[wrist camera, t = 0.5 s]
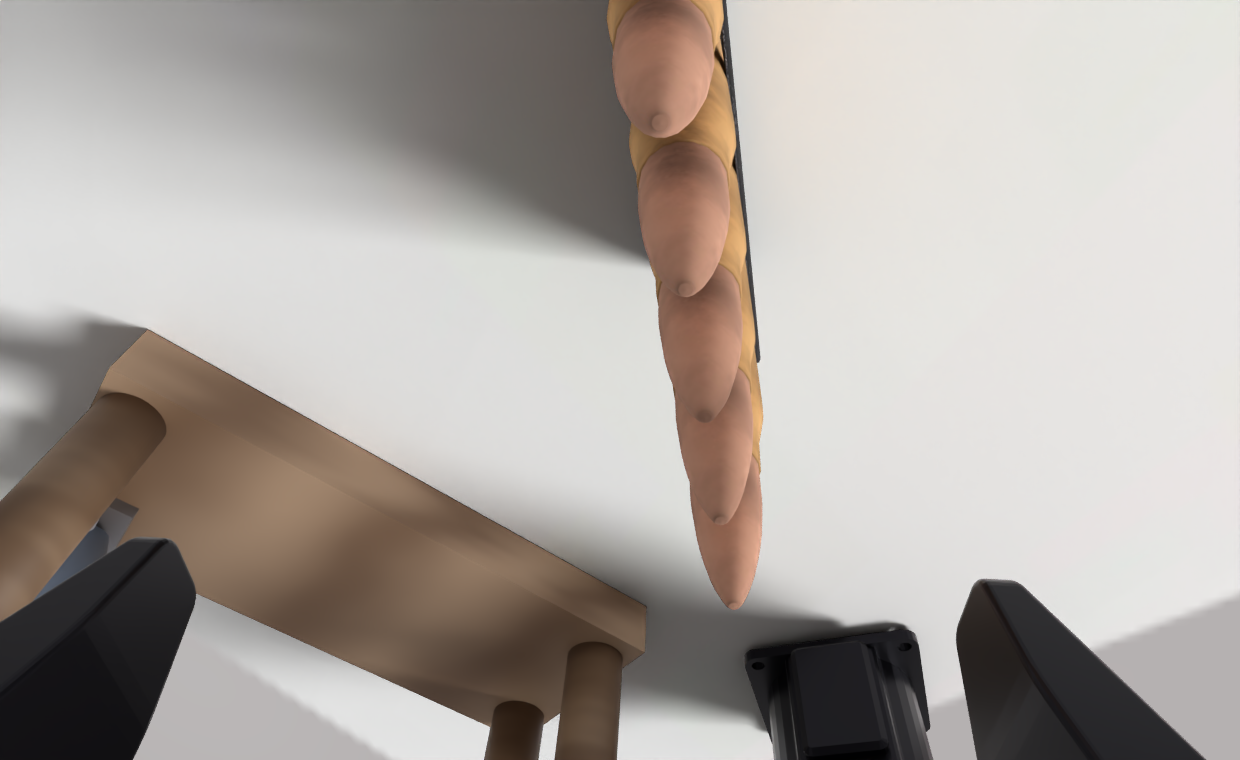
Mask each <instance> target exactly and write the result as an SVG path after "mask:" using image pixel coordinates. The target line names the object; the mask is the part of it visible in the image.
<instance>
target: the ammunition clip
mask: <svg viewBox="0 0 1240 760" xmlns="http://www.w3.org/2000/svg"><path fill="white" fill-rule="evenodd" d="M607 24H608V30H609V35H610V41H611V43H612V47H613V58H612V70H613V76H614V82H615V88H616V93H617V97H618V100H619V102H620V104H621V106H622V108H623V110H624V111H625V113H626V115H627V116H628V118H629V120H630V121H631V127H630V135H629V148H630V153H631V159H632V164H633V166H634V169H635V171H636V173H637V188H638V213H639V220H640V226H641V232H642V237H643V242H644V246H645V249H646V252H647V255H648V258H649V260H650V265H651V268H652V271H653V274H654V276H655V279H656V295H657V301H658V306H659V308H658V317H659V330H660V336H661V342H662V348H663V353H664V359H665V363H666V367H667V370H668V373H669V376H670V379H671V381H672V384H673V391H674V396H675V406H676V423H677V430H678V436H679V442H680V448H681V453H682V458H683V462H684V466H685V469H686V473H687V476H688V479H689V481H690V497H691V507H692V513H693V519H694V525H695V531H696V536H697V541H698V545H699V549H700V552H701V556H702V559H703V562H704V565H705V567H706V570H707V573H708V576H709V578H710V581H711V583H712V585H713V587H714V589H715V591H716V592H717V594H718V595H719V597H720V598H721V600H722V601H723V602H724V604H725V605H726V606H727V607H728V608H730V609H732V610H736V609H738V608H740V607H741V606H742V604H743V603H744V601H745V599H746V597H747V595H748V593H749V590H750V588H751V585H752V582H753V579H754V576H755V572H756V567H757V562H758V558H759V552H760V545H761V536H762V496H761V486H760V477H759V475H760V472H761V467H760V451H759V441H760V435H761V429H762V423H763V408H762V398H761V391H760V384H759V376H758V369H757V363H758V362H759V361H760V349H759V339H758V328H757V318H756V307H755V297H754V287H753V276H752V266H751V255H750V245H749V235H748V224H747V214H746V204H745V193H744V183H743V172H742V162H741V152H740V141H739V131H738V121H737V110H736V100H735V89H734V79H733V69H732V58H731V48H730V38H729V27H728V17H727V6H726V0H609V5H608V11H607Z"/></svg>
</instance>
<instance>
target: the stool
mask: <svg viewBox="0 0 1240 760" xmlns="http://www.w3.org/2000/svg"><path fill="white" fill-rule="evenodd" d="M98 519H99V521H98ZM97 521H98V523H97V524H96V526H97V527H99V528H101V529H103V530H104V531H105V532H106V533H107V534H108V536H109V541H108V550H107V553H109V552H110V551H112V550H113V549H115V548H117V547H118V546H120V545H121V544H123V543H124V542H126V541H128V540H130V539H132V538H135V537H159V538H168V539H171V540H172V541H174V542H175V543H176V544H177V546H178V548H179V550H180V552H181V554H182V557H183V559H184V561H185V563H186V565H187V568H188V570H189V572H190V574H191V577H192V579H193V581H194V584H195V588H196V593H197V594H199V595H201V596H203V597H205V598H208V599H210V600H212V601H214V602H216V603H219V604H221V605H223V606H225V607H227V608H230V609H232V610H234V611H236V612H238V613H241V614H243V615H245V616H247V617H249V618H252V619H254V620H256V621H258V622H260V623H263V624H265V625H267V626H269V627H271V628H274V629H276V630H278V631H280V632H282V633H285V634H287V635H289V636H291V637H293V638H296V639H298V640H300V641H302V642H304V643H307V644H309V645H311V646H313V647H315V648H318V649H320V650H322V651H324V652H326V653H329V654H331V655H333V656H335V657H337V658H340V659H342V660H344V661H346V662H348V663H351V664H353V665H355V666H357V667H359V668H362V669H364V670H366V671H368V672H370V673H373V674H375V675H377V676H379V677H381V678H384V679H386V680H388V681H390V682H392V683H395V684H397V685H399V686H401V687H403V688H406V689H408V690H410V691H412V692H414V693H417V694H419V695H421V696H423V697H425V698H428V699H430V700H432V701H434V702H436V703H439V704H441V705H443V706H445V707H447V708H450V709H452V710H454V711H456V712H458V713H461V714H463V715H465V716H467V717H469V718H472V719H474V720H476V721H478V722H480V723H483V724H485V725H487V726H489V727H490V732H489V737H488V742H487V747H486V752H485V757H484V760H538V758H539V751H540V744H541V737H542V730H543V725H544V724H545V723H547V722H548V721H550V720H551V719H552V718H554V717H555V716H557V715H558V714H559V713H560V720H559V728H558V736H557V744H556V752H555V760H617V746H618V730H619V713H620V697H621V681H622V668H624V667H625V666H627V665H628V664H629V663H631V662H632V661H634V660H635V659H636V658H638V657H639V656H641V655H642V654H643V653H645V635H646V606H644V605H643V604H641V603H639V602H637V601H635V600H634V599H632V598H630V597H628V596H626V595H625V594H623V593H621V592H619V591H617V590H616V589H614V588H612V587H610V586H608V585H607V584H605V583H603V582H601V581H599V580H598V579H596V578H594V577H592V576H590V575H589V574H587V573H585V572H583V571H581V570H580V569H578V568H576V567H574V566H572V565H571V564H569V563H567V562H565V561H563V560H562V559H560V558H558V557H556V556H554V555H553V554H551V553H549V552H547V551H545V550H544V549H542V548H540V547H538V546H536V545H535V544H533V543H531V542H529V541H527V540H526V539H524V538H522V537H520V536H518V535H517V534H515V533H513V532H511V531H509V530H508V529H506V528H504V527H502V526H500V525H499V524H497V523H495V522H493V521H491V520H490V519H488V518H486V517H484V516H482V515H481V514H479V513H477V512H475V511H473V510H472V509H470V508H468V507H466V506H464V505H463V504H461V503H459V502H457V501H455V500H454V499H452V498H450V497H448V496H446V495H445V494H443V493H441V492H439V491H437V490H436V489H434V488H432V487H430V486H428V485H427V484H425V483H423V482H421V481H419V480H418V479H416V478H414V477H412V476H410V475H409V474H407V473H405V472H403V471H401V470H400V469H398V468H396V467H394V466H392V465H391V464H389V463H387V462H385V461H383V460H382V459H380V458H378V457H376V456H374V455H373V454H371V453H369V452H367V451H365V450H364V449H362V448H360V447H358V446H356V445H355V444H353V443H351V442H349V441H347V440H346V439H344V438H342V437H340V436H338V435H337V434H335V433H333V432H331V431H329V430H328V429H326V428H324V427H322V426H320V425H319V424H317V423H315V422H313V421H311V420H310V419H308V418H306V417H304V416H302V415H301V414H299V413H297V412H295V411H293V410H292V409H290V408H288V407H286V406H284V405H283V404H281V403H279V402H277V401H275V400H274V399H272V398H270V397H268V396H266V395H265V394H263V393H261V392H259V391H257V390H256V389H254V388H252V387H250V386H248V385H247V384H245V383H243V382H241V381H239V380H238V379H236V378H234V377H232V376H230V375H229V374H227V373H225V372H223V371H221V370H220V369H218V368H216V367H214V366H212V365H211V364H209V363H207V362H205V361H203V360H202V359H200V358H198V357H196V356H194V355H193V354H191V353H189V352H187V351H185V350H184V349H182V348H180V347H178V346H176V345H175V344H173V343H171V342H169V341H167V340H166V339H164V338H162V337H160V336H158V335H157V334H155V333H153V332H151V331H149V330H147V331H146V332H145V333H144V334H143V335H142V336H141V337H140V338H139V339H138V340H137V341H136V342H135V343H134V344H133V345H132V346H131V347H130V348H129V349H128V350H127V351H126V352H125V353H124V354H123V355H122V356H121V357H120V358H119V359H118V360H117V361H116V362H115V363H114V364H113V365H112V366H111V367H110V368H109V369H108V371H107V373H106V376H105V378H104V380H103V382H102V384H101V386H100V388H99V390H98V392H97V394H96V396H95V399H94V401H93V403H92V405H91V407H90V409H89V410H88V411H87V412H86V413H85V414H84V415H83V416H82V418H81V419H80V420H79V421H78V422H77V423H76V424H75V425H74V426H73V427H72V428H71V429H70V430H69V431H68V432H67V433H66V434H65V435H64V436H63V437H62V438H61V439H60V440H59V441H58V442H57V443H56V444H55V445H54V446H53V448H52V449H51V450H50V451H49V452H48V453H47V454H46V455H45V456H44V457H43V458H42V459H41V460H40V461H39V462H38V463H37V464H36V465H35V466H34V467H33V468H32V469H31V470H30V471H29V472H28V473H27V474H26V475H25V476H24V478H23V479H22V480H21V481H20V482H19V483H18V484H17V485H16V486H15V487H14V488H13V489H12V490H11V491H10V492H9V493H8V494H7V495H6V496H5V497H4V498H3V499H2V500H1V501H0V622H1V621H2V620H4V619H6V618H7V617H9V616H10V615H12V614H13V613H15V612H16V611H18V610H20V609H21V608H23V607H24V606H26V605H27V604H29V603H31V602H32V601H33V600H34V599H35V598H36V596H37V595H38V594H39V593H40V591H41V590H42V589H43V588H44V587H45V585H46V584H47V583H48V582H49V580H50V579H51V578H52V577H53V575H54V574H55V573H56V572H57V570H58V569H59V568H60V567H61V565H62V564H63V563H64V562H65V560H66V559H67V558H68V557H69V555H70V554H71V553H72V552H73V551H74V549H75V548H76V547H77V546H78V544H79V543H80V542H81V541H82V539H83V538H84V537H85V536H86V534H87V533H88V532H89V531H90V529H91V528H92V527H93V526H94V524H95V523H96V522H97Z"/></svg>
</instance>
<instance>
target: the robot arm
mask: <svg viewBox="0 0 1240 760" xmlns="http://www.w3.org/2000/svg"><path fill="white" fill-rule="evenodd" d="M195 600H196V588H195V584H194V581H193V579H192V577H191V574H190V572H189V570H188V568H187V565H186V563H185V561H184V559H183V557H182V554H181V552H180V550H179V548H178V546H177V544H176V543H175V542H174V541H172V540H171V539H168V538H159V537H135V538H132V539H130V540H128V541H126V542H124V543H123V544H121V545H120V546H118V547H117V548H115V549H113V550H112V551H110V552H109V553H107V554H106V555H104V556H103V557H101V558H99V559H98V560H96V561H95V562H93V563H92V564H90V565H88V566H87V567H85V568H84V569H82V570H81V571H79V572H77V573H76V574H74V575H73V576H71V577H70V578H68V579H67V580H65V581H63V582H62V583H60V584H59V585H57V586H56V587H54V588H52V589H51V590H49V591H48V592H46V593H45V594H43V595H42V596H40V597H38V598H37V599H35V600H34V601H32V602H31V603H29V604H27V605H26V606H24V607H23V608H21V609H20V610H18V611H16V612H15V613H13V614H12V615H10V616H9V617H7V618H6V619H4V620H2V621H1V622H0V760H133V758H134V756H135V754H136V752H137V750H138V748H139V746H140V744H141V741H142V739H143V737H144V735H145V733H146V730H147V728H148V726H149V724H150V721H151V719H152V716H153V714H154V711H155V708H156V706H157V704H158V701H159V698H160V695H161V693H162V690H163V688H164V685H165V682H166V680H167V677H168V674H169V672H170V669H171V666H172V664H173V661H174V658H175V656H176V653H177V650H178V648H179V645H180V642H181V640H182V637H183V635H184V632H185V629H186V627H187V624H188V621H189V619H190V616H191V613H192V611H193V608H194V605H195ZM956 644H957V652H958V657H959V663H960V668H961V673H962V679H963V684H964V690H965V695H966V701H967V706H968V711H969V717H970V723H971V728H972V734H973V739H974V745H975V750H976V756H977V760H1206V759H1205V758H1204V757H1203V756H1202V755H1201V754H1200V753H1199V752H1198V751H1197V750H1196V749H1194V748H1193V747H1192V746H1191V745H1190V744H1189V743H1188V742H1187V741H1186V740H1185V739H1184V738H1183V737H1182V736H1181V735H1180V734H1179V733H1178V732H1176V731H1175V730H1174V729H1173V728H1172V727H1171V726H1170V725H1169V724H1168V723H1167V722H1166V721H1165V720H1164V719H1163V718H1162V717H1161V716H1160V715H1159V714H1158V713H1157V712H1155V711H1154V710H1153V709H1152V708H1151V707H1150V706H1149V705H1148V704H1147V703H1146V702H1145V701H1144V700H1143V699H1142V698H1141V697H1140V696H1139V695H1138V694H1137V693H1135V692H1134V691H1133V690H1132V689H1131V688H1130V687H1129V686H1128V685H1127V684H1126V683H1125V682H1124V681H1123V680H1122V679H1120V677H1119V676H1117V675H1116V674H1115V673H1114V672H1113V671H1112V670H1111V669H1110V668H1109V667H1108V666H1107V665H1106V664H1105V663H1104V662H1103V661H1102V660H1101V659H1099V657H1098V656H1096V655H1095V654H1094V653H1093V652H1092V651H1091V650H1090V649H1089V648H1088V647H1087V646H1086V645H1085V644H1084V643H1083V642H1082V641H1081V640H1080V639H1079V638H1077V637H1076V636H1075V635H1074V634H1073V633H1072V632H1071V631H1070V630H1069V629H1068V628H1067V627H1066V626H1065V625H1064V624H1063V623H1062V622H1061V621H1060V620H1059V619H1057V618H1056V617H1055V616H1054V615H1053V614H1052V613H1051V612H1050V611H1049V610H1048V609H1047V608H1046V607H1045V606H1044V605H1043V604H1042V603H1041V602H1040V601H1038V600H1037V599H1036V598H1035V597H1034V596H1033V595H1032V594H1031V593H1030V592H1029V591H1028V590H1027V589H1026V588H1025V587H1024V586H1022V585H1021V584H1019V583H1018V582H1015V581H1012V580H998V579H980V580H978V581H977V582H976V583H974V585H973V587H972V589H971V592H970V594H969V597H968V600H967V602H966V605H965V608H964V610H963V613H962V615H961V618H960V621H959V623H958V627H957V632H956ZM745 668H746V671H747V673H748V676H749V679H750V682H751V685H752V688H753V691H754V693H755V696H756V699H757V702H758V705H759V708H760V710H761V713H762V716H763V719H764V722H765V725H766V727H767V730H768V733H769V736H770V739H771V742H772V744H773V753H774V760H933V757H932V753H931V750H930V746H929V742H928V738H927V735H926V732H927V731H928V730H929V729H930V721H929V714H928V707H927V700H926V693H925V686H924V679H923V672H922V665H921V658H920V651H919V645H918V641H917V638H916V635H915V633H914V632H912V631H909V630H896V631H888V632H881V633H873V634H866V635H859V636H851V637H844V638H836V639H829V640H821V641H814V642H806V643H799V644H791V645H784V646H776V647H769V648H761V649H754V650H751V651H749V652H747V653H746V654H745Z"/></svg>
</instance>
